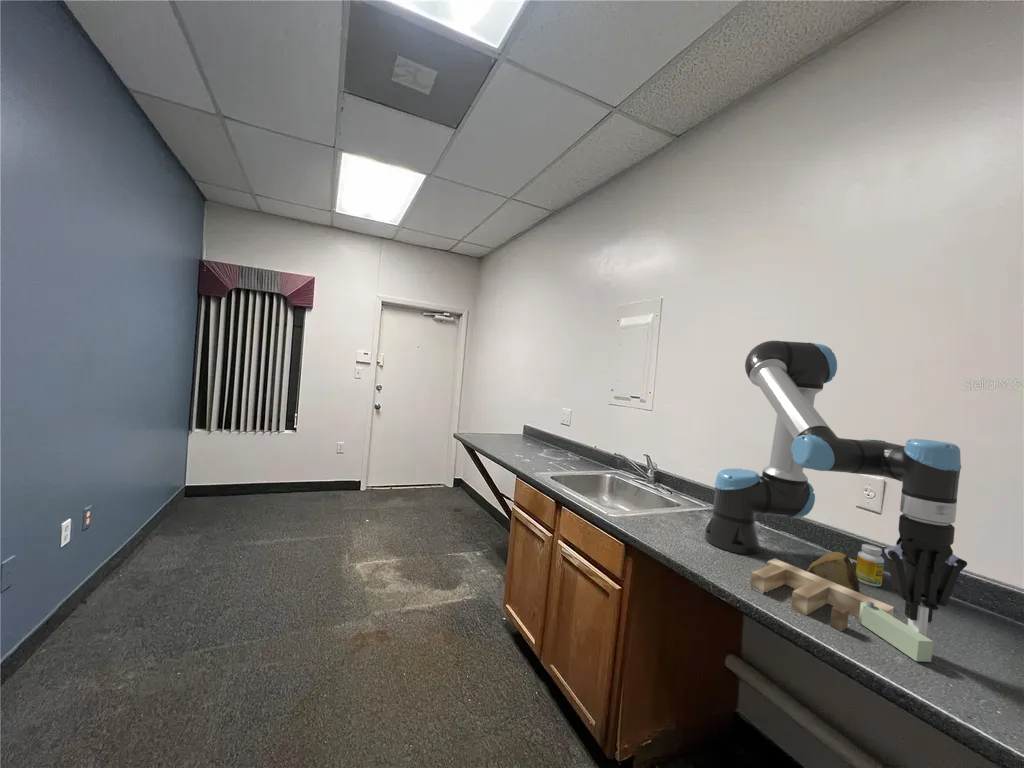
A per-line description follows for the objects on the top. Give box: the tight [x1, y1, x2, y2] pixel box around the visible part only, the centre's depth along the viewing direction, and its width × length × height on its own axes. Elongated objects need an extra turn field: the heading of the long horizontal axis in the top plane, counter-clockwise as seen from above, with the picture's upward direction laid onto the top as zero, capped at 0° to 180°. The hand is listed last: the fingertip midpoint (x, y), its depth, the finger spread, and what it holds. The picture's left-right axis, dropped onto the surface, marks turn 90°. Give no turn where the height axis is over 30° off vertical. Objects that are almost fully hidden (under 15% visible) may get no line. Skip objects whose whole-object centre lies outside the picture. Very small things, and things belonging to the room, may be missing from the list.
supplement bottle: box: [855, 543, 885, 587], centre depth 106 cm, size 5×5×10 cm
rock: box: [806, 551, 862, 594], centre depth 103 cm, size 11×9×10 cm
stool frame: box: [749, 557, 895, 632], centre depth 93 cm, size 24×15×4 cm, turn 32°
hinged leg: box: [858, 601, 934, 663], centre depth 81 cm, size 12×3×5 cm, turn 3°
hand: (916, 635), depth 78 cm, fingers closed
